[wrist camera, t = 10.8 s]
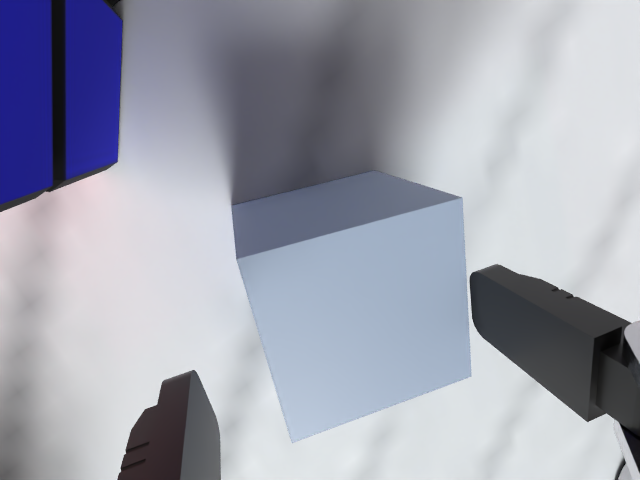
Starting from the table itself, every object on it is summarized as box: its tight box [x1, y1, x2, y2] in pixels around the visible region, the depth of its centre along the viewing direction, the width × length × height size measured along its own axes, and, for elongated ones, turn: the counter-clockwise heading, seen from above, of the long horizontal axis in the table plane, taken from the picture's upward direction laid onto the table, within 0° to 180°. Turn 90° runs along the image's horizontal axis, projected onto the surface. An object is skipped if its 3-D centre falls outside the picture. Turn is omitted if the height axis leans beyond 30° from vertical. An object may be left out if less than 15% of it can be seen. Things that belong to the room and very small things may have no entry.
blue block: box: [231, 170, 471, 443], centre depth 13 cm, size 6×6×6 cm
